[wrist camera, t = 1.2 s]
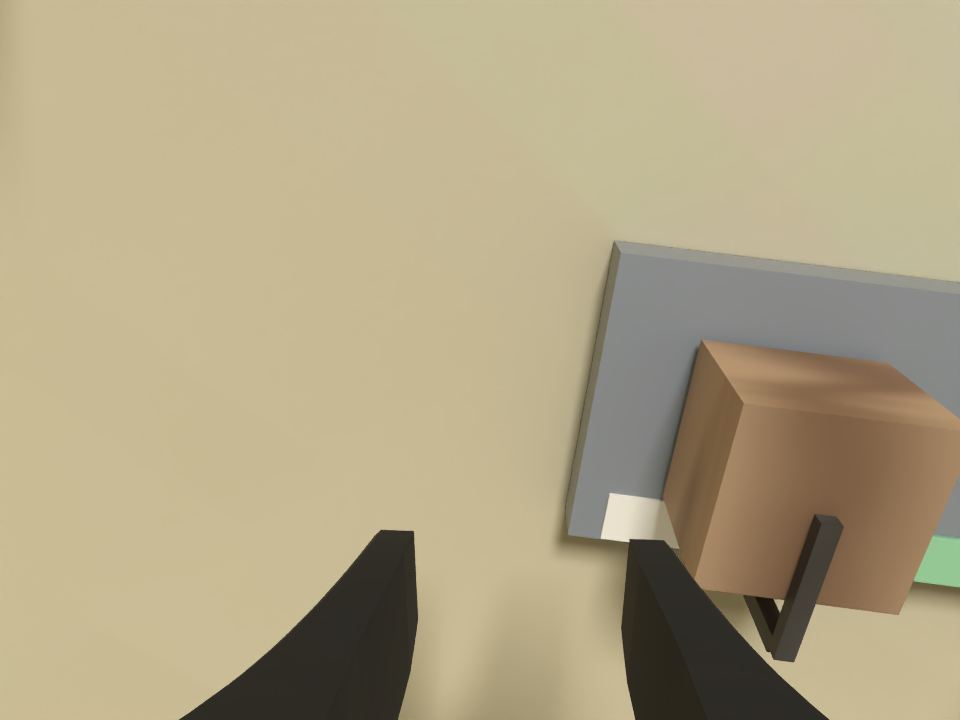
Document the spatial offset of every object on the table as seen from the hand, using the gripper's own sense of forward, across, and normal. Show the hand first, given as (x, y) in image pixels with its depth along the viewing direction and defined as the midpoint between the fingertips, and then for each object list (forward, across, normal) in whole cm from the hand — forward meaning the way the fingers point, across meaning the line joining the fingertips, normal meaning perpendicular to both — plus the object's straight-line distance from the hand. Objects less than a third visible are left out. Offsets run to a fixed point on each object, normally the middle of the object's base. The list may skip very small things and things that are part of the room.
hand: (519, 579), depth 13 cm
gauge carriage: (+8, -7, +2) cm, 10 cm away
